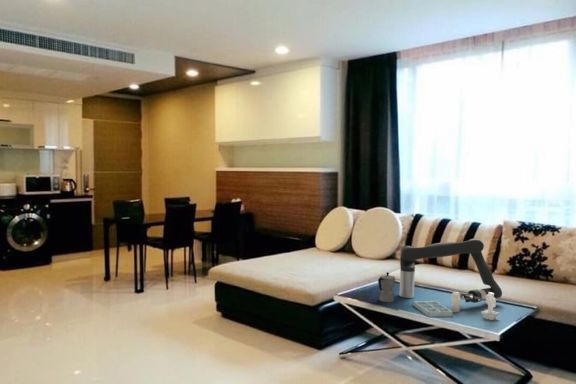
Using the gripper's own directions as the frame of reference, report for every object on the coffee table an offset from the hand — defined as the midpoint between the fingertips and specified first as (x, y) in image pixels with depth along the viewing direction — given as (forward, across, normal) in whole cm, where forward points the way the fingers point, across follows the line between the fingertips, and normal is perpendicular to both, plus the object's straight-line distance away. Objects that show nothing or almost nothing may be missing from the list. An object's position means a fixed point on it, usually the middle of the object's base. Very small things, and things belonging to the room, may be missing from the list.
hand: (459, 298), depth 275 cm
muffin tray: (+16, -7, +7) cm, 19 cm away
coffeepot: (+26, -35, +7) cm, 44 cm away
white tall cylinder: (+4, 0, +7) cm, 8 cm away
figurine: (-2, +19, +7) cm, 20 cm away
